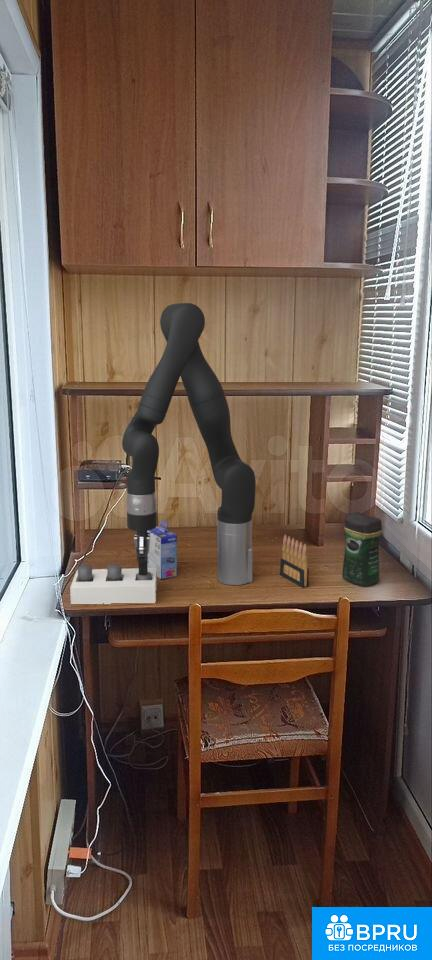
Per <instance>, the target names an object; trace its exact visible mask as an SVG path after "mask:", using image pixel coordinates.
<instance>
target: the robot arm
mask: <svg viewBox="0 0 432 960" xmlns="http://www.w3.org/2000/svg"><path fill="white" fill-rule="evenodd" d="M159 324H160V329H161V332H162V334H163V337H164V339H165V341H166V345H165V349H164V351H163V354H162V355H161V357H160V360H159V362H158V364H157V365H156V367H155V369H153V372H152V374H151V375H150V377H149V379H148V381H147V382H146V384H145V387H144V389H143V392H142V395H141V398H140V401H139V404H138V406H137V410H136V412H135V413H134V415H133V416H132V418H131V419H130V422H129V423H128V425H127V427H126V429H125V431H124V433H123V435H122V441H121V444H122V445H121V446H122V449H123V452H124V453H125V454H126V455H128V456H129V457H131V458H132V463H131V468H130V469H129V470H128V471H127V473H126V499H125V500H126V503H125V505H126V527H127V528H128V529H129V530H131V531H135V532H134V537H133V543H134V545H135V546H134V547H135V554H136V562H138V568H139V575H147V572H148V564H147V561H148V553H149V549H150V533H148V532H147V531H148V530H153V529H155V528H156V527H157V526H158V512H157V511H158V507H157V506H158V504H157V494H156V472H157V468H158V463H159V458H160V457H159V456H160V446H159V442H158V439H157V437H155V435H153V432H154V430H155V428H156V426H158V425H162V423H163V422H165V421H164V420H165V418H166V417H167V413H168V410H169V408H170V405H171V402H172V399H173V395H174V393H175V390H176V387H177V385H178V382H179V380H180V379H181V382H182V385H183V388H184V390H185V393H186V397H187V400H188V403H189V406H190V409H191V412H192V416H193V417H194V421H195V423H196V425H197V427H198V430H199V434H200V435H201V437H202V439H203V442H204V444H205V446H206V449H207V453H208V457H209V461H210V466H211V470H212V471H211V472H212V474H213V479H214V482H215V483H216V485H217V486H218V488H219V489H221V504H220V505H221V506H219V508H217V516H216V517H217V522H216V525H217V535H216V537H217V539H216V540H217V580H218V582H220V583H221V584H224V585H229V586H242V585H245V584H249V583H253V570H254V569H253V568H254V567H253V560H254V559H253V557H254V556H253V555H254V552H253V551H254V550H253V539H252V538H253V536H252V534H253V533H252V532H253V530H252V529H253V513H254V510H255V506H256V505H255V504H256V485H257V484H256V482H257V481H256V480H257V479H256V475H255V472H254V469H253V468H252V467H251V466H250V465H249V464H247V463H246V462H244V461H243V460H242V459H241V457H240V455H239V453H238V450H237V447H236V445H235V443H234V440H233V436H232V430H231V429H232V428H231V427H232V426H231V424H232V423H231V422H232V421H231V411H230V407H229V404H228V400H227V397H226V395H225V391H224V388H223V386H222V384H221V382H220V380H219V378H218V377H217V374H216V373H215V371H213V369H212V367H211V366H210V364H209V363H208V361H207V360H206V357H205V355H204V354H203V351H202V349H201V345H200V342H199V340H200V337H201V335H202V334H203V331H204V329H205V327H206V326H205V324H206V318H205V315H204V312H203V310H202V309H201V308H200V307H199V306H198V305H197V304H193V303H191V302H181V303H180V302H179V303H171V304H170V305H167V306H166V307H165V308H164V309H163V311H162V312H161V314H160V319H159Z"/></svg>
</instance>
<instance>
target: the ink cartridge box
mask: <svg viewBox="0 0 432 960" xmlns="http://www.w3.org/2000/svg"><path fill="white" fill-rule="evenodd" d="M162 525H164V527H163V526H162ZM168 527H169V523H167V522H166V521H163V520H161V522H160V523H159V525H157V526H156V528H155V529H153V530H148V531H147V532H148V533H150V549H149V553H148V561H147V564H148V568H157V579H159V580H165V579H169V578H175V577H177V576H178V540H177V539H178V535H177V533H175V532H173V531H171V530H168Z"/></svg>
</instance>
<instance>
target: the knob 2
mask: <svg viewBox="0 0 432 960" xmlns="http://www.w3.org/2000/svg"><path fill="white" fill-rule="evenodd" d="M137 580H151V573H150V572H147V575H139V573H137Z"/></svg>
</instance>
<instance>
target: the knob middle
mask: <svg viewBox="0 0 432 960" xmlns="http://www.w3.org/2000/svg"><path fill="white" fill-rule="evenodd" d="M106 567H107V568H106V569H107V573H108V581H122V569H123V568H122V565H121V564H119V563H113V564H109V565H107V566H106Z"/></svg>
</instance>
